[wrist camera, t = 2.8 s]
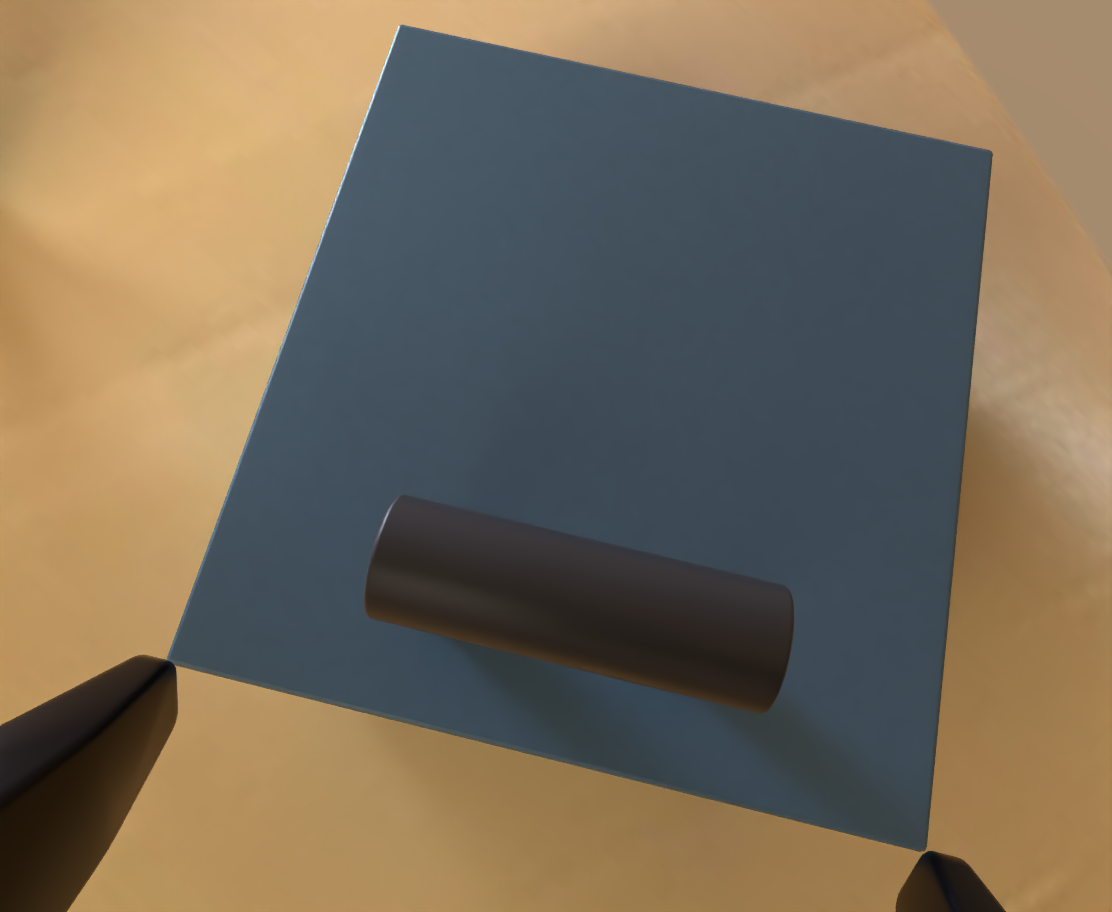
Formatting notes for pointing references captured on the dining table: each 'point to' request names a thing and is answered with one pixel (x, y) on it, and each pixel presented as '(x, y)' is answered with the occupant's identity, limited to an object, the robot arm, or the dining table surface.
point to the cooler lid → (619, 437)
